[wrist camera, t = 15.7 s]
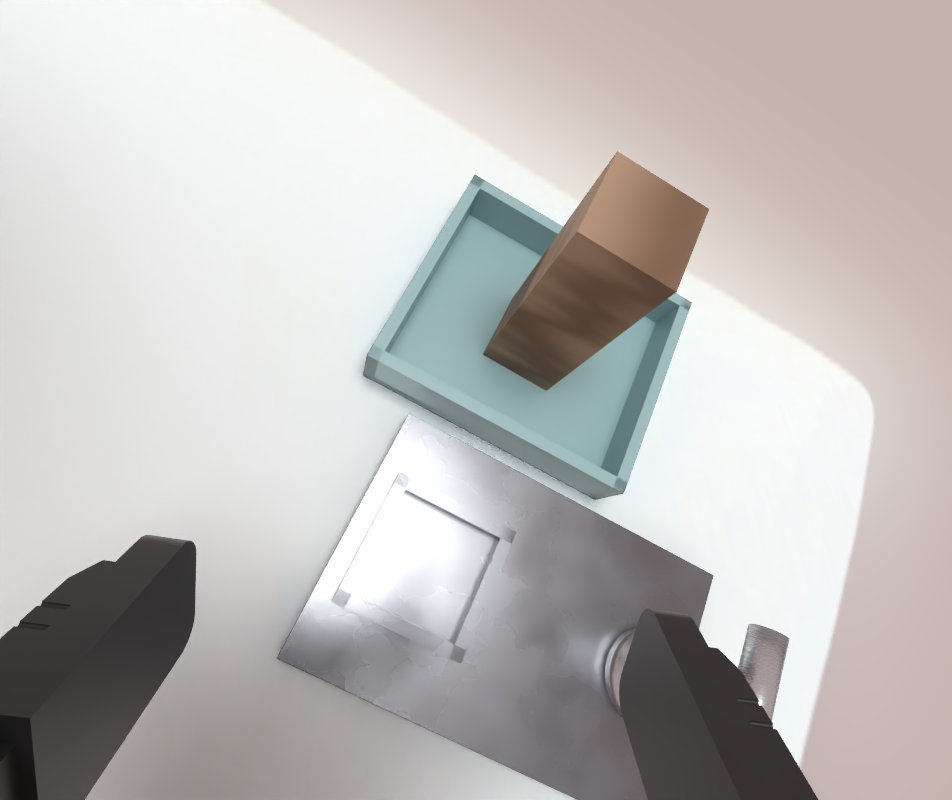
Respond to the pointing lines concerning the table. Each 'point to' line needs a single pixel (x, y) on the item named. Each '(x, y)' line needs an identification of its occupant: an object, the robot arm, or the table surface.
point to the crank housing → (499, 614)
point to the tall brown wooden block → (599, 273)
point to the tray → (499, 389)
